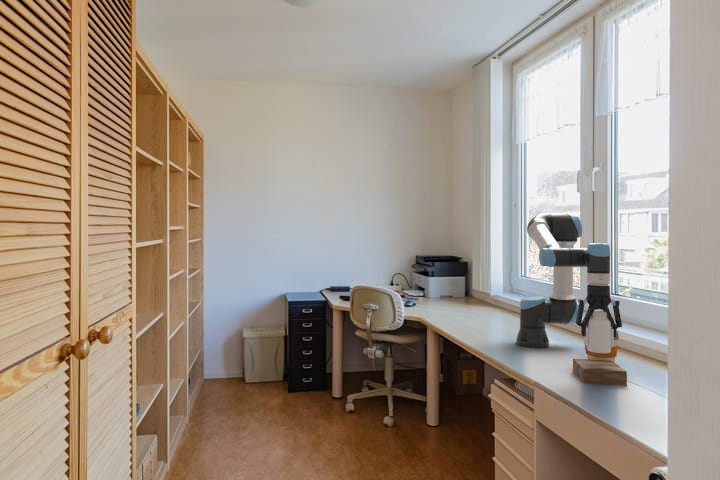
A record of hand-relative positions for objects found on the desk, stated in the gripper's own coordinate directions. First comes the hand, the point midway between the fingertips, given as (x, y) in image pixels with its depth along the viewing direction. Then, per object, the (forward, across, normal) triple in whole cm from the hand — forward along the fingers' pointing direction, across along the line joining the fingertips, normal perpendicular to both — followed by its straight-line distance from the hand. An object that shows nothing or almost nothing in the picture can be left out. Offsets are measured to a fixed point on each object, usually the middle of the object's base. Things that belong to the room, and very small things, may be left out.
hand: (598, 345), depth 160 cm
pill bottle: (+2, 0, 0) cm, 2 cm away
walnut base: (+12, 0, 0) cm, 12 cm away
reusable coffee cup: (+13, +6, +16) cm, 21 cm away
